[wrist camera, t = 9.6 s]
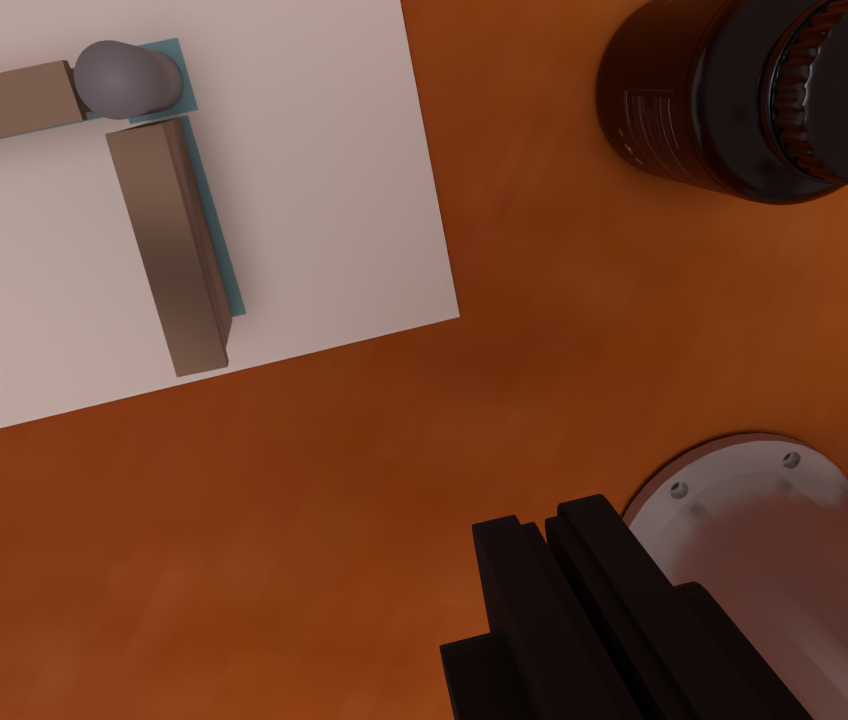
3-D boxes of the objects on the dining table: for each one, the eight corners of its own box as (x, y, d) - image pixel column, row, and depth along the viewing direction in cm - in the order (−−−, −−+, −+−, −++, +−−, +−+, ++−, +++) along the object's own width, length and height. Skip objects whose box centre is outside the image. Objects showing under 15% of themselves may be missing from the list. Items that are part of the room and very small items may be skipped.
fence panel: (138, 124, 27) (104, 133, 22) (185, 116, 27) (162, 123, 22) (195, 327, 30) (176, 377, 25) (237, 319, 30) (227, 367, 25)
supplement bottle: (698, -51, 29) (958, -137, 18) (784, 98, 31) (1060, 106, 20) (555, 75, 29) (718, 70, 18) (650, 211, 32) (845, 280, 21)
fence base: (374, -129, 26) (403, -199, 20) (458, 314, 32) (502, 373, 25) (-210, -18, 25) (-389, -54, 18) (-11, 428, 30) (-93, 522, 24)
